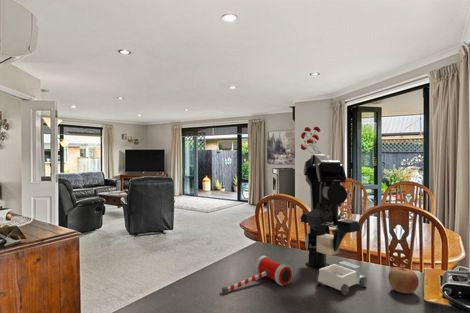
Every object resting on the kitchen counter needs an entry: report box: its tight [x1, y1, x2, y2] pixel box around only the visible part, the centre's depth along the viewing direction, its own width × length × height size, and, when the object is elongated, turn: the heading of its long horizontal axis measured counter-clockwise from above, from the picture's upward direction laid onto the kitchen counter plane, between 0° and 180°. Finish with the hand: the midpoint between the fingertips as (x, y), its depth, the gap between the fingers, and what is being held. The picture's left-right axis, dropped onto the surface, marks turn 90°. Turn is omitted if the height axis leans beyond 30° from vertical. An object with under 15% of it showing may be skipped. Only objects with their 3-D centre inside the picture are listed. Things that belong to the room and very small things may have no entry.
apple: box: [387, 264, 420, 294], centre depth 92 cm, size 8×8×8 cm
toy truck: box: [315, 260, 368, 296], centre depth 96 cm, size 13×10×6 cm
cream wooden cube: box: [317, 234, 341, 256], centre depth 96 cm, size 5×5×5 cm
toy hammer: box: [221, 255, 293, 295], centre depth 95 cm, size 23×12×6 cm, turn 126°
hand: (328, 248), depth 96 cm, fingers closed on cream wooden cube, 5 cm apart
